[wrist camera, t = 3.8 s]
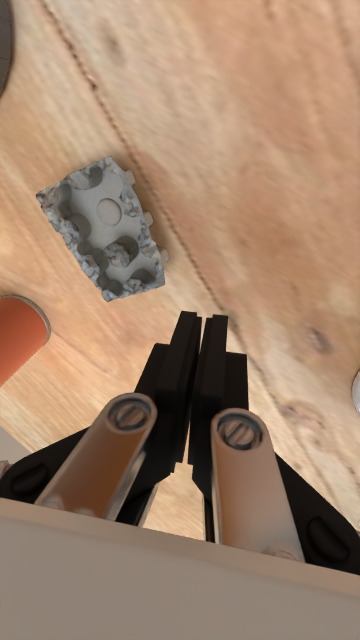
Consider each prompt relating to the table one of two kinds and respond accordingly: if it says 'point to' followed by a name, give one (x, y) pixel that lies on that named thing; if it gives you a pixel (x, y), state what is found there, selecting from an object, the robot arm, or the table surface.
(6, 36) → the black pan
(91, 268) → the egg carton
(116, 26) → the table surface
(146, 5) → the table surface
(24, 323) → the tin can
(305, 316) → the table surface
